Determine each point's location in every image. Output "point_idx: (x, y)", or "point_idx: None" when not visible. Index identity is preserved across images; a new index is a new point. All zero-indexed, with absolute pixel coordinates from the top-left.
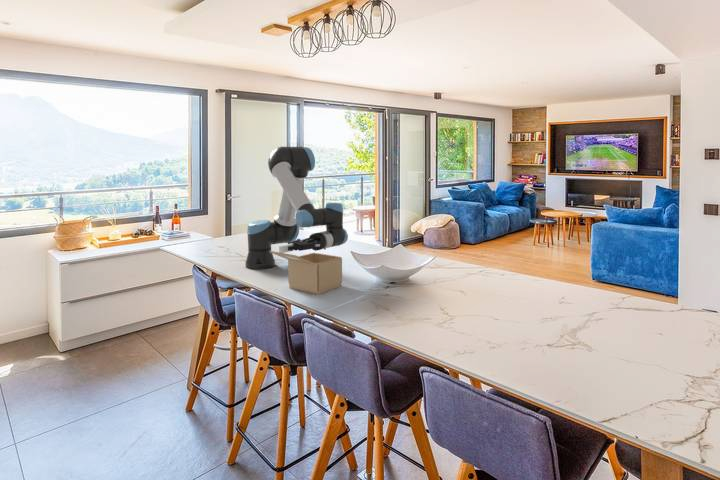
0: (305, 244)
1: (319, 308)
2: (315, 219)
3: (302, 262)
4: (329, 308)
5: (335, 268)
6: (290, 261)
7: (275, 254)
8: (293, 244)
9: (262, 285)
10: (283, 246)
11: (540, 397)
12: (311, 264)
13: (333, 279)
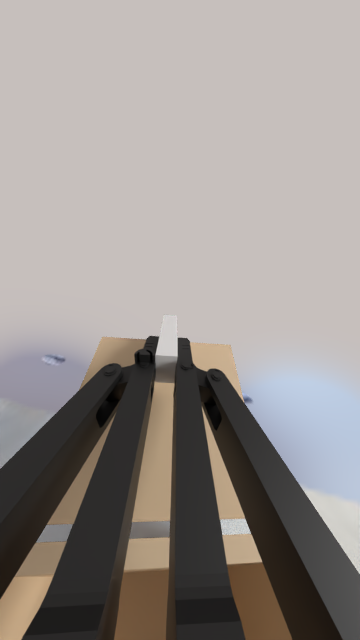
0: (62, 410)
1: (48, 417)
2: None
3: (150, 538)
4: (16, 432)
5: None
6: None
7: (235, 379)
8: (155, 357)
9: (310, 494)
10: (163, 319)
11: None
12: (60, 543)
13: None
